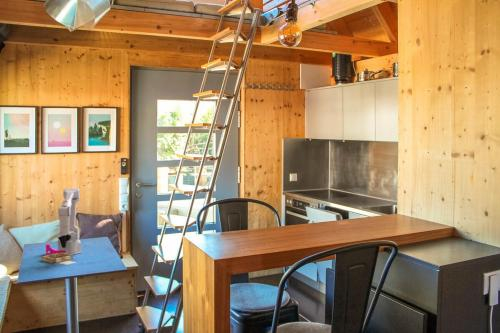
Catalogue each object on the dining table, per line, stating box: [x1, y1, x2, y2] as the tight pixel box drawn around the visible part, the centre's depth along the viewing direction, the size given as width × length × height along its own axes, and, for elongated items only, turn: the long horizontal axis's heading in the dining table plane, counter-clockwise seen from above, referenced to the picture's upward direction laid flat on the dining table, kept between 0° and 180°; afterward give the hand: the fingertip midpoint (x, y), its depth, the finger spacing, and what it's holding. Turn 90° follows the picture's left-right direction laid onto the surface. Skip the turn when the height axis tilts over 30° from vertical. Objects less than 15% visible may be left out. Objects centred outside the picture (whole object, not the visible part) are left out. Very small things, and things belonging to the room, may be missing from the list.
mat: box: [59, 260, 77, 266], centre depth 278 cm, size 9×8×1 cm
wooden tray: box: [40, 253, 74, 265], centre depth 285 cm, size 13×14×3 cm
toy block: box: [45, 243, 66, 256], centre depth 304 cm, size 15×6×8 cm, turn 119°
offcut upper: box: [58, 253, 70, 257], centre depth 288 cm, size 2×7×2 cm, turn 60°
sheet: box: [57, 239, 72, 251], centre depth 280 cm, size 1×10×6 cm, turn 72°
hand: (64, 247), depth 280 cm, fingers closed on sheet
